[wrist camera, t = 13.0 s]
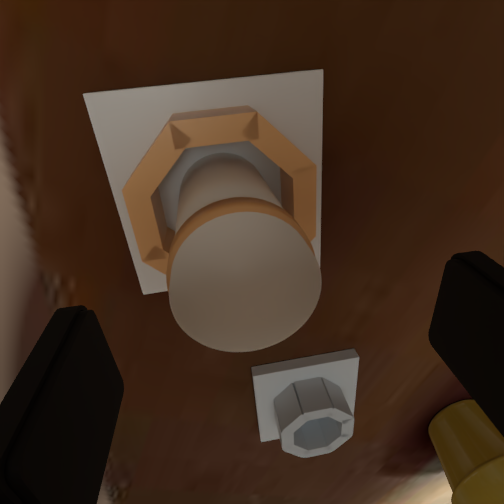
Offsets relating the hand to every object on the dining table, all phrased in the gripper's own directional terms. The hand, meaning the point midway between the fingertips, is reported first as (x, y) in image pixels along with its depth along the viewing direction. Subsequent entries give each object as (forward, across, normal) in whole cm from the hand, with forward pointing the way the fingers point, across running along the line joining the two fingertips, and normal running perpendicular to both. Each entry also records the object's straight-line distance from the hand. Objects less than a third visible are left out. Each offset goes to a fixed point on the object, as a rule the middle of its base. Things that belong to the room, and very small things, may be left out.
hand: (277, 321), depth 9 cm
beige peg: (+12, +1, +1) cm, 12 cm away
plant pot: (+13, -21, +30) cm, 39 cm away
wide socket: (+13, +1, +1) cm, 13 cm away
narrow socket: (+13, -4, +21) cm, 25 cm away
